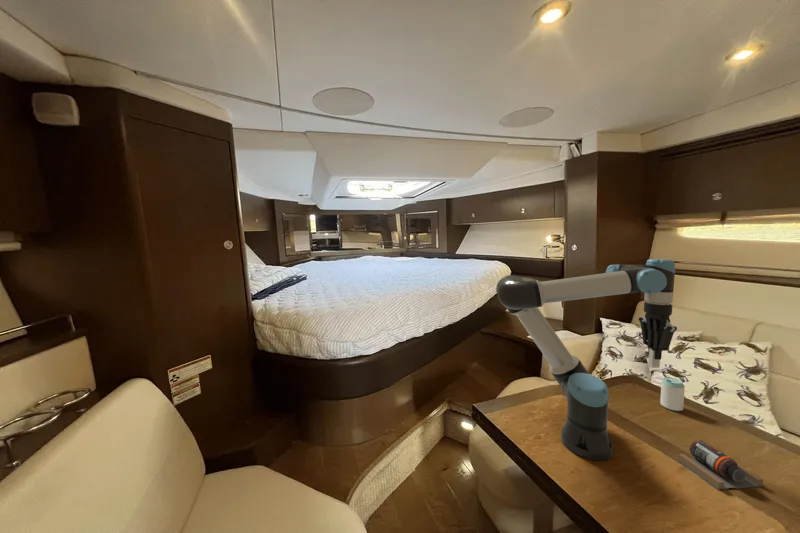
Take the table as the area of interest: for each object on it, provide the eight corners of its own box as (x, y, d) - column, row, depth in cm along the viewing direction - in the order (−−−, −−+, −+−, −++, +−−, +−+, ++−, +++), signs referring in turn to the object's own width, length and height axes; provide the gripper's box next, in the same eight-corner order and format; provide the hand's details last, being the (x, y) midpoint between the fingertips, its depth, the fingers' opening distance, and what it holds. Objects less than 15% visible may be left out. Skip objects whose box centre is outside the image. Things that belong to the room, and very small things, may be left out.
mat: (717, 489, 81) (718, 482, 81) (678, 460, 92) (678, 454, 92) (763, 486, 82) (763, 479, 82) (718, 457, 93) (719, 451, 93)
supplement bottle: (708, 442, 93) (753, 470, 82) (699, 458, 94) (743, 488, 82) (693, 436, 93) (736, 463, 82) (685, 452, 93) (726, 481, 82)
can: (680, 414, 116) (682, 385, 115) (657, 406, 122) (659, 379, 121) (685, 408, 120) (687, 380, 119) (663, 400, 126) (664, 374, 125)
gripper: (686, 306, 95) (681, 374, 97) (652, 298, 108) (648, 359, 110) (664, 306, 95) (659, 375, 97) (632, 299, 108) (629, 359, 110)
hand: (653, 366), depth 104 cm, fingers closed
